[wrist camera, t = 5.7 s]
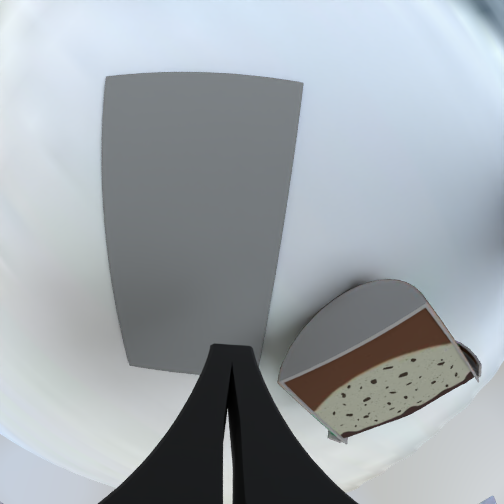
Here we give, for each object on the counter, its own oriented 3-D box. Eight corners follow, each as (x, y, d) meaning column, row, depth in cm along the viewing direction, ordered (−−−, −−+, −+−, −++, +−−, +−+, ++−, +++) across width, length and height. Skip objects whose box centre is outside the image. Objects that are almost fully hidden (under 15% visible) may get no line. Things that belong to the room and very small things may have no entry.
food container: (270, 326, 21) (339, 389, 24) (257, 390, 16) (340, 446, 18) (413, 234, 16) (458, 324, 19) (452, 284, 11) (485, 378, 13)
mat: (302, 83, 12) (303, 82, 12) (255, 375, 21) (256, 378, 21) (108, 77, 11) (105, 76, 11) (130, 362, 20) (129, 365, 20)
